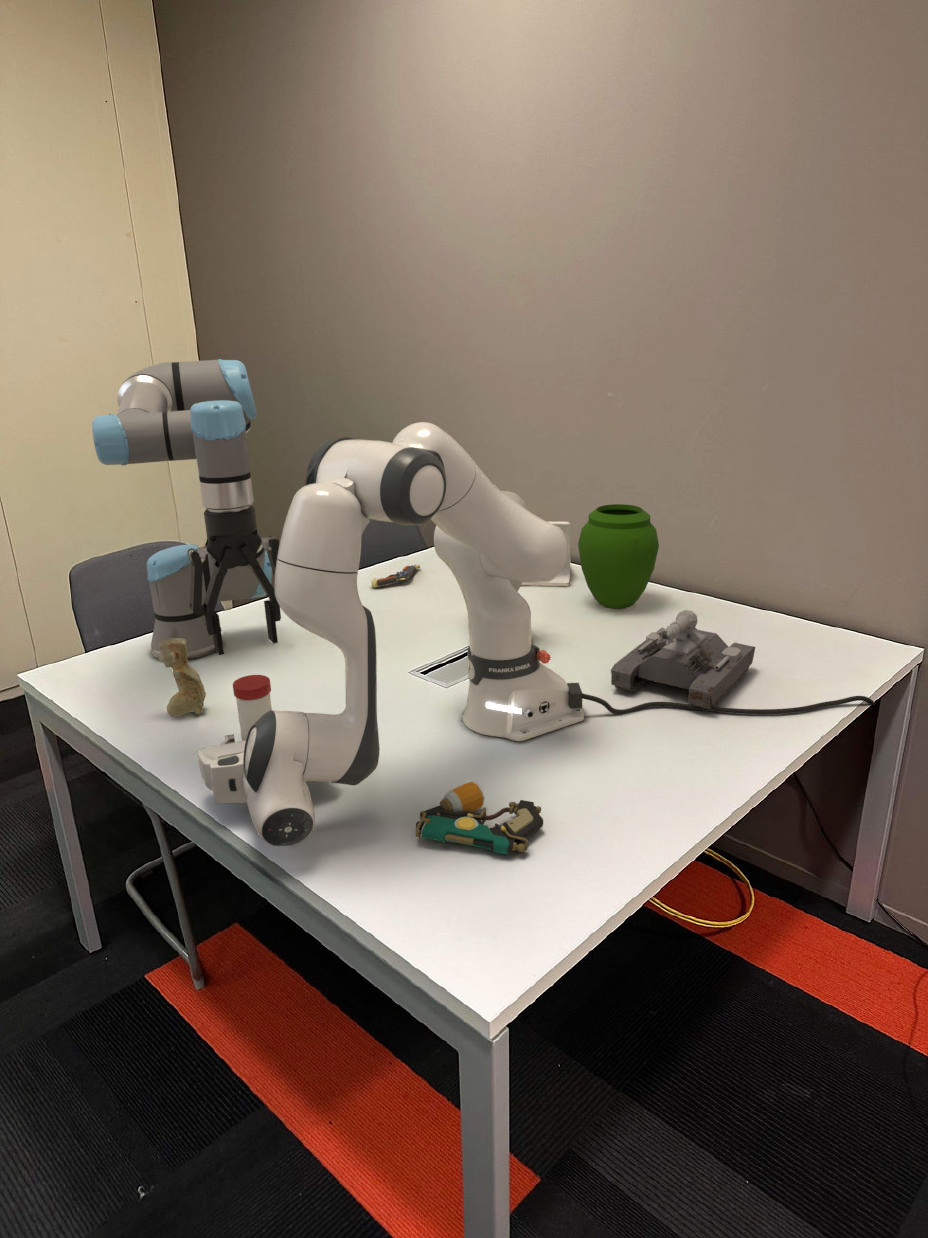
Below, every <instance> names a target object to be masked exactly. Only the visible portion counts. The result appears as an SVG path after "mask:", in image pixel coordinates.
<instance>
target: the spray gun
mask: <svg viewBox="0 0 928 1238" xmlns="http://www.w3.org/2000/svg"><path fill="white" fill-rule="evenodd" d="M484 804H485V794H484V790H483V789H482V787H481V786H480V785H479V784H477V783H476V782H474V781H468V782H466V783H464V784H461V785H459V786H456V787H455V788H453V789H450V790H449V791H446V793H445V794H444V796H443V798H441V799H440V801H439V805H436V806H433V807H431V808H428V809H425V810H422V811H420V812H419V820H418V821H417V822H416V824H415V838H418V839H419V838H422V839H427V840H433V841H437V842H442V843H447V842H449V843H455V844H461V845H465V846H471V847H476V848H480V849H481V848H482V849H487V850H490V851H491V852H493V853H496V854H501V855H507V856H509V854H513V852H514V851H517V852H519V853H524V852H526V851H528V849H529V841H528V839H529V838H530V837H532V836H533V835H534V834H535V833H536V832H538V831H539V830H540V829H542V828H543V827H544V818H543V817H542V816H541V815H540V814H541V813H542V806H539V805H537V806H536V805H535V803H534V801H529V800H524V799H520V800H519V802H515V801H510V802H509V803H508V806H506V807H503V808H501V809H500V810H498V811H497V812H495V813H494V814H489V815H487V808H485V807H483V806H484ZM482 807H483V808H482ZM481 808H482V810H481V812H475V811H476V810H479V809H481ZM505 813H509V814H510V815H513V814H514V815H515V818H513V819H512V820H510V821H508V822H503V823H502V825H499V824H498V823H496V822H495V823H494V826H492V827H489V825H486V824H485V823H486V821H492V820H494V819H498V818H499V817H501V816H502V815H503V814H505ZM524 842H525V844H524Z"/></svg>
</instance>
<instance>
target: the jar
mask: <svg viewBox="0 0 928 1238" xmlns="http://www.w3.org/2000/svg"><path fill="white" fill-rule="evenodd" d="M235 700H236V709H237V714H238V722H239V730H240V738H241V741H244V740H246V739H247V735H248V732H249V730H250V728H251V727H252V726H253V725H254V724H255V722H256V721H257V720H258V719H259V718H260V717H261V716H263V715H264V714H265V713H267V712H269V711H270V710H273V709H272V701H271V692H270V693H269V694H268V695H266V696H264V697H262V698H258V699H253V700H242V699H238V698H236V697H235Z"/></svg>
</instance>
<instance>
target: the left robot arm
mask: <svg viewBox="0 0 928 1238" xmlns="http://www.w3.org/2000/svg"><path fill="white" fill-rule="evenodd" d="M248 375H249V374H248V371H247V368H246V365H245V364H244V362H242V361H241V360H238V359H221V358H218V359H207V360H206V359H205V360H194V361H193V360H191V361H176V362H175V361H174V362H173V361H166V362H160V363H155V364H153V365H150V366H147V367H144V368H142V369H140V370H138V371H136V372H134V373H133V374H130V375H129V376H128V377H127V378H126V380H124V382H122V384H121V385H120V388H119V390H118V393H117V406H118V409H117V411H116V413H108V414H104V415H97V416H95V417H94V418H93V420H92V424H91V429H92V430H91V431H92V432H91V433H92V439H93V445H94V449H95V453H96V456H97V459H98V461H99V462H100V463H101V464H102V465H105V466H119V465H121V466H127V465H136V464H148V463H160V462H161V463H162V462H172V461H173V462H177V461H189V460H196V464H197V470H198V479H199V487H200V494H201V495H200V496H201V501H202V503H201V504H202V507H204V508H205V510H204V512H203V517H204V525H205V532H206V541H205V543H204V546H201V547H199V545H197V544H180V545H175V546H171V547H167V548H165V549H162V550H159V551H157V552H154V554H152V555H151V556H149V558H148V559H147V561H146V572H147V578H146V579H147V582H148V584H149V589H150V596H151V603H152V609H153V615H154V626H153V631H152V636H151V642H150V650H151V654H152V656H153V657H154V658H156V659H158V660H159V657H160V653H159V648H158V646H159V643H160V642H161V641H162V640H165V639H172V638H183V639H186V641H187V642H186V646H187V660H188V661H190V660H195V659H200V658H203V657H206V656H208V655H211V654H213V653H215V652H216V653H217V654H218V656H223V655H225V650H224V643H223V636H222V635H223V634H222V627H221V621H220V616H219V614H218V612H217V611H216V610H215V609H216V605H217V603H221V602H230V601H239V600H253V599H255V598H262V597H265V596H267V598H268V599H266V600H263V605H264V613H265V614H264V615H265V621H266V623H265V624H266V631H267V638H268V640H269V641H271V643H272V644H274V645H275V644H278V643H279V640H278V639H279V638H278V631H277V623H276V622H281V620H282V612H281V608H280V606H279V604H278V602H277V600H276V597H275V587H274V586H273V584H272V579H273V577H274V579H275V569H276V562H277V556H278V550H279V544H280V540H279V539H278V538H276V537H275V536H274V535H269V536H267V537H264V536H260V535H259V533H258V532H259V531H258V525H257V517H256V516H257V514H256V509H255V507H254V505H253V503H254V502H255V498H254V491H253V483H252V482H253V481H252V475H251V470H250V459H249V458H250V457H249V447H248V439H247V434H248V433H249V431H250V430H252V429H251V428H252V422H251V421H254V420H255V419H258V413H257V408H256V403H255V401H254V396H253V392H252V388H251V384H250V379H249V376H248Z"/></svg>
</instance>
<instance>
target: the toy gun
mask: <svg viewBox="0 0 928 1238" xmlns="http://www.w3.org/2000/svg"><path fill="white" fill-rule="evenodd" d="M418 569H421V565H420V564H414V565H413V564H412V565H405V567H403V569H402V570H400V571H396V573H394V574H390V575H388V576H386V577H382V578H377V577H376V578H373V579H371V581H370V582H371V587H372V588H377V587H382V586H387V585H390V584H394V583H398V582H402V581H408V579H409V578H411V577H412V576H413V574H414V573H415V572H416V571H417V570H418Z"/></svg>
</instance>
